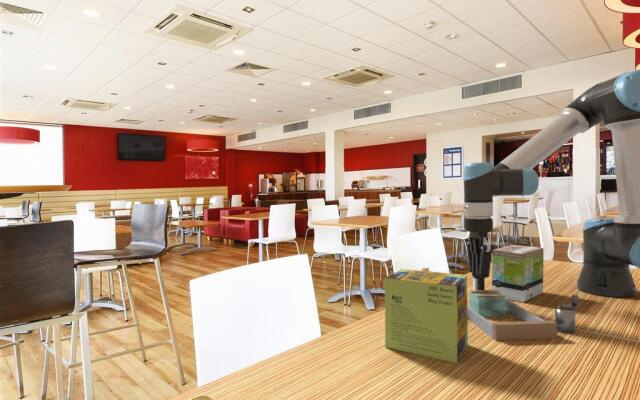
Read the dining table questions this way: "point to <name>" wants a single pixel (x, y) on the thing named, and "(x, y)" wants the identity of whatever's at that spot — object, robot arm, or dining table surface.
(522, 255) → the tea box
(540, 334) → the bay
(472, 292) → the crate
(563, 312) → the winch drum
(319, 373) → the dining table surface
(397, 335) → the protein box
